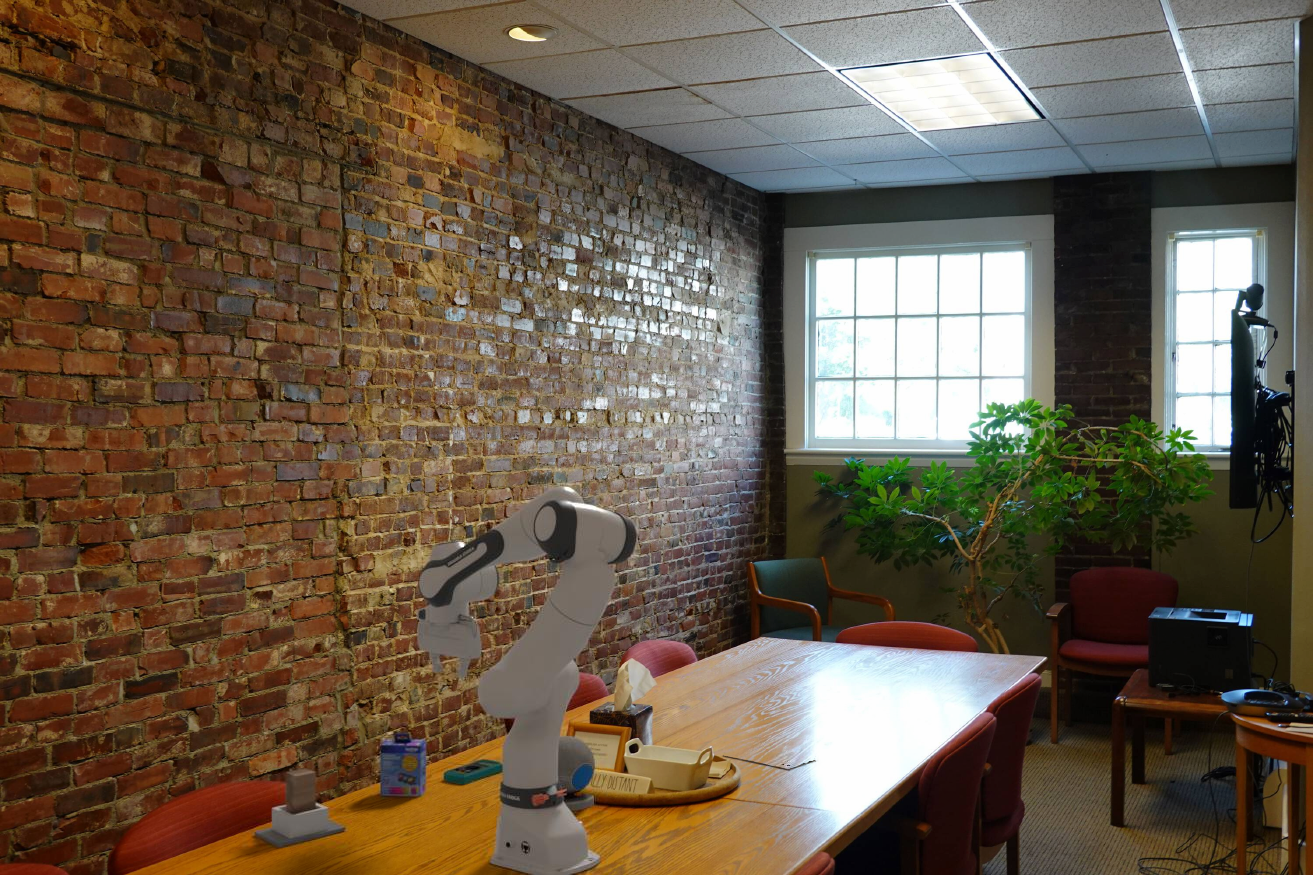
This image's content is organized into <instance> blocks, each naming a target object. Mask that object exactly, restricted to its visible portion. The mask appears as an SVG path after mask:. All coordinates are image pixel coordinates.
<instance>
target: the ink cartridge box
mask: <svg viewBox="0 0 1313 875" xmlns="http://www.w3.org/2000/svg"><path fill="white" fill-rule="evenodd" d="M393 735H394V738H393V739H392V738H391V739H385V740H384V741H383V742H382V743H381V744H380V758H379V759H380V760H379V761H380V771H379V772H380V789H379V790H380V796H381V797H411V798H412V797H414V798H415V797H418V798H419V797H422V795H423V794H424V793H425V792H426V791H427V740H425V739H411V736H410V733H394V734H393ZM400 737H401V738H400ZM405 737H406V738H405Z"/></svg>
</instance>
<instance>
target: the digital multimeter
mask: <svg viewBox="0 0 1313 875" xmlns="http://www.w3.org/2000/svg"><path fill="white" fill-rule="evenodd" d="M496 773H497V774H501V773H503V762H500V761H496V760H492V759H485V758H482V759H479V760H475V761H473V762H469V763H468V764H465V765H461V766H457V767H454V768H451V769H447V770H446V771H444V772H443V781H444V780H445V782H447V781H448V783H452V784H456V783H460V784H459V785H468V784H470V782H471V783H473V782H476V781H479V780H482V779H485V778H487V777H486V776H488V777H491V776H494V775H497V774H496ZM493 774H494V775H493ZM490 775H491V776H490ZM484 777H485V778H484ZM481 778H482V779H481ZM475 780H476V781H475ZM472 781H473V782H472ZM467 783H468V784H467Z"/></svg>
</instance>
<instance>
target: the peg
mask: <svg viewBox="0 0 1313 875" xmlns="http://www.w3.org/2000/svg"><path fill="white" fill-rule="evenodd" d="M316 776H317V772H316V771H314V770H311V769H309V768H306V767H305V768H299V769H295V770H290V771H287V772H285V805H286V812H288V813H291V814H298V813H302V812H306V811H311V810H315V809H316V803H317V801H316V800H317V798H316V797H317V795H316V794H317V790H316V789H317V788H316V787H317V784H316V781H317V779H316V778H317V777H316Z"/></svg>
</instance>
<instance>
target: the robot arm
mask: <svg viewBox="0 0 1313 875" xmlns="http://www.w3.org/2000/svg"><path fill="white" fill-rule="evenodd" d="M636 543H637V530H636V526H635V524H634V522H633V521H632V520H631V519H630V518H628V517H627V516H625V515H623V514H621V513H619V512H616V511H610V510H607V509H604V508H601V507H599V506H596V505H593V504H591V503H589V504H588V503H585V501H584V499H583V497H582V496H581V495H580V494H579V493H578V491H576V490H574V489H573V488H571V487H569V486H564V485H563V486H562V485H561V486H559V485H558V486H555V487H553V488H551V489H548V490H547V491H544V492H543V493H541V494H539V495H538V496H536V497H535V498H533V499H532V500H530V501H529V502H528V503H526V504H525V505H523V506H522V507H521V508H519V509H518V510H517V511H516V512H514V513H513V514H512V515H510V516H509V517H508V518H506V519H505V520H504V521H503V520H502V521H501V522H500V523H499V524H497V525H496V526H494V527H492V528H490V529H489V530H488V531H486V532H484V533H483V534H481V535H479V536H478V537H476V538H474V539H472V540H471V541H468V543H465V542H463V541H461V540H460V541H459V540H451V541H446V542H445V541H444V542H439V543H437V544H434V546H432V548H431V551H430V555H429V561H428V562H427V563H426V564H425V565H424V567H423V568H422V570H421V571H420V574H419V577H418V582H417V586H418V591H419V593H420V595H421V596H422V598H423V599H424V600H425V601H426V602H427V603H428V605H426V606H425V607H422V608H420V609H418V610H417V611H416V619H417V620H418V623H417V628H416V630H417V633H416V634H417V636H416V637H417V646H418V648H419V651H422V652H428V657H429V661H430V662H431V665H432V673H435V674H439V673H443V670H444V669H443V668H444V664H443V663H441V659H440V657H441V655H443V656H448V657H449V656H450V657H453V658H454V657H455V658H458V663H460V664H459V667H458V668H457V669H456V677H457V678H461V679H463V678H467V676H468V668H469V666H470V663H471V660H472V659H473V660H474V659H478V658H480V657H481V655H482V653H483V652H482V639H481V638H482V636H481V631H480V628H479V626H478V622H477V620H476V619H475V618H474V617H473V616H472V615H469V614H470V613H469V612H470V609H469V606H470V605H469V603H471V602H472V603H473V602H477V601H478V602H480V601H484V600H487V599H491V598H492V597H493V596H494V595H495V593H497V590H498V588H499V585H500V575H499V574H500V573H499V569H498V568H497V565H502V564H504V565H505V564H509V563H518V562H519V563H520V562H528V561H533V560H536V559H539V558H542V557H543V556H547V558H548V560H549V562H551V563H552V564H561V574H560V576H559V577H558V580H557V582H556V584H555V585H554V587H553V588H552V590H551V592H550V593H549V595H548V597H547V598H546V599H545V600H546V601H545V602H544V604H543V605H542V607H541V608H540V610H539V612H538V614H537V615H536V617H535V619H534V620H533V622H532V623H531V625H530V626H529V628H528V629H527V630H526V631H525V632H524V634H523V635H521V637H520V638H519V639H518V640H517V641H516V642H515V644H513V645H512V646H511V648H510V649H509V650H508V652H507V653H506V654H505V655H504V656H503V657H502V658H501V659H500V660H499V661H498V662H497V663H496V664H494V665H493V666H492V667H491V668H490V669H488V670H486V671H485V672H484V673H483V674H482V675H481V677H480V679H479V682H478V685H477V698H478V701H479V704H480V706H481V707H482V709H483V711H484V712H485V713H486V714H487V715H489V716H491V717H493V718H496V719H514V721H513V723H512V724H513V725H512V726H511V729H510V730H509V732H508V734H507V735H506V736H505V738H504V741H503V742H502V743H503V744H502V748H501V749H502V751H501V752H502V764H503V772H502V781H500V787H499V801H500V802H501V808H500V811H499V815H498V817H497V820H496V831H495V840H494V841H495V842H494V852H493V854H491V857H490V864H491V865H494V866H499V867H502V868H507V869H510V870H514V871H517V872H521V873H525V874H529V875H573V874H577V873H581V872H582V871H583V872H584V871H585V870H589V869H591V868H593V867H596V865H598V864H600V862H601V856H600V855H599V854H598V853H596V852H594V851H592V850H590V849H589V845H588V844H589V843H588V836H587V835H588V834H587V832H586V828H584V826H585V825H584V823H583V822H582V821H581V820H579V819H578V818H577V817H576V816H575V815H574V813H573V812H572V811H570V809H569V808H568V807H567V806H566V804H565V803H564V795H567V794H563V792H565V791H567V789H564V790H562V786H561V784H560V780H559V779H558V745H559V737H561V736H560V735H561V730H562V726H563V723H564V719H565V715H566V712H567V708H568V706H569V704H570V702H571V699H572V698H573V696H574V694H576V692H577V690H578V688H579V685H580V678H581V677H580V671H579V668H578V665H577V663H576V662H575V660H574V659H576V658H577V657H578V656H579V655H581V653H582V651H583V649H584V648H585V646H586V644H587V643H588V642H589V639H590V638H591V636H592V635H593V633H594V631H595V629H596V627H597V625H598V624H599V623H600V621H601V618H602V617H603V616H604V613H605V611H606V609H607V607H608V605H609V602H610V600H611V597H612V596H613V592H614V589H615V586H616V583H617V581H616V580H617V579H616V577H617V576H616V572H615V571H614V569H613V568H612V567H611V565H618V564H622V563H624V562H626V561H627V560H628V559H629V558H630V557H631V556H632V554H633V552H634V550H635V548H636Z"/></svg>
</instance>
